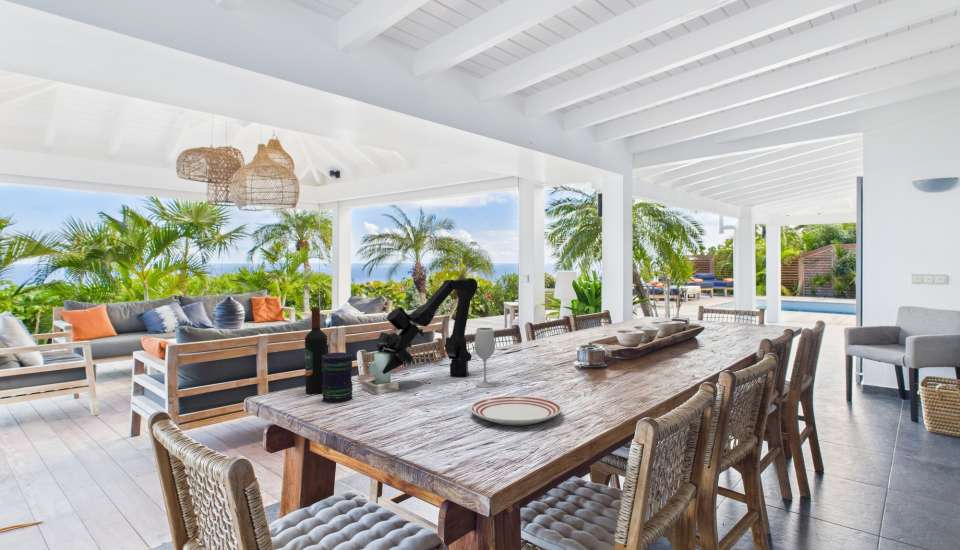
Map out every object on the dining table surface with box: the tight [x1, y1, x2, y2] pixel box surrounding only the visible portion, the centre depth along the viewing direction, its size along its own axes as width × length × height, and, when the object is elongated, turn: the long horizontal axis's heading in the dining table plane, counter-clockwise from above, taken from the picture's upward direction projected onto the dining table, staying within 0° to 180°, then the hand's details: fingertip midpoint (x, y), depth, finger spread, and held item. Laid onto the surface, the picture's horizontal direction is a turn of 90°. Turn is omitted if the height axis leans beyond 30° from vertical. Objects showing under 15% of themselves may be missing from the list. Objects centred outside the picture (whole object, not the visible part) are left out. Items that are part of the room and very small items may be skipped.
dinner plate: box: [469, 395, 563, 426], centre depth 153 cm, size 28×27×3 cm
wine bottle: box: [304, 306, 328, 395], centre depth 182 cm, size 8×8×30 cm
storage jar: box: [322, 352, 354, 404], centre depth 172 cm, size 10×10×15 cm
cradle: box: [361, 378, 399, 395], centre depth 184 cm, size 9×10×3 cm
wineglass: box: [474, 327, 496, 388], centre depth 190 cm, size 8×8×21 cm
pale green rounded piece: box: [368, 352, 392, 385], centre depth 184 cm, size 8×6×13 cm
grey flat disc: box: [397, 379, 422, 389], centre depth 191 cm, size 11×11×1 cm
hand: (379, 371), depth 184 cm, fingers closed on pale green rounded piece, 6 cm apart
